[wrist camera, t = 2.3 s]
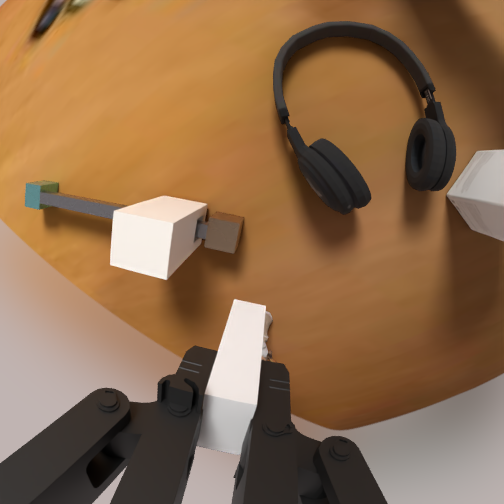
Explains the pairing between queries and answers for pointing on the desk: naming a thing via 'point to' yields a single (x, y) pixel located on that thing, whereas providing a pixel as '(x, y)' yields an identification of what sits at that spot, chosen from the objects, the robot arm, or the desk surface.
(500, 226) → the skincare box
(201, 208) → the sleeve
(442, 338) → the desk surface
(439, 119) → the headphones
